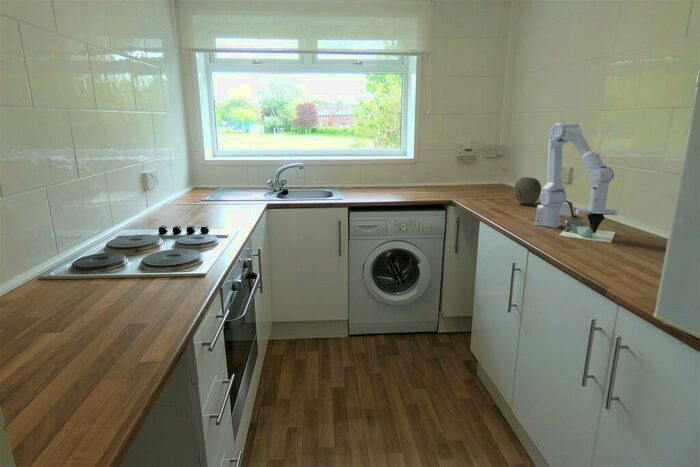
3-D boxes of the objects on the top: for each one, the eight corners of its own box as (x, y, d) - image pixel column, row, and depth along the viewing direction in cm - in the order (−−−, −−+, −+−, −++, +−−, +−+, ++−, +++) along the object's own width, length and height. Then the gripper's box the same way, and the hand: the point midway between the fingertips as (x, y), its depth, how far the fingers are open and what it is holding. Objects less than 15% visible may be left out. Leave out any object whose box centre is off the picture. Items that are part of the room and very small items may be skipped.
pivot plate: (559, 235, 171) (560, 224, 170) (567, 227, 185) (568, 216, 184) (610, 243, 161) (612, 231, 160) (615, 233, 175) (617, 222, 174)
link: (565, 226, 183) (565, 220, 183) (577, 226, 183) (578, 220, 182) (581, 236, 167) (582, 230, 166) (595, 237, 166) (596, 230, 166)
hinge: (577, 216, 206) (575, 197, 202) (571, 220, 204) (569, 201, 200) (547, 210, 220) (545, 192, 216) (541, 214, 219) (539, 196, 215)
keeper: (564, 231, 176) (565, 221, 175) (563, 230, 178) (565, 220, 177) (583, 233, 173) (585, 222, 172) (583, 232, 175) (585, 221, 174)
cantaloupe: (544, 206, 229) (547, 179, 225) (517, 206, 229) (520, 179, 225) (533, 202, 242) (536, 175, 238) (508, 202, 242) (511, 175, 239)
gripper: (582, 200, 162) (578, 234, 165) (623, 200, 160) (617, 235, 164) (575, 197, 169) (570, 230, 172) (614, 197, 167) (608, 231, 171)
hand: (593, 232), depth 168 cm, fingers closed
